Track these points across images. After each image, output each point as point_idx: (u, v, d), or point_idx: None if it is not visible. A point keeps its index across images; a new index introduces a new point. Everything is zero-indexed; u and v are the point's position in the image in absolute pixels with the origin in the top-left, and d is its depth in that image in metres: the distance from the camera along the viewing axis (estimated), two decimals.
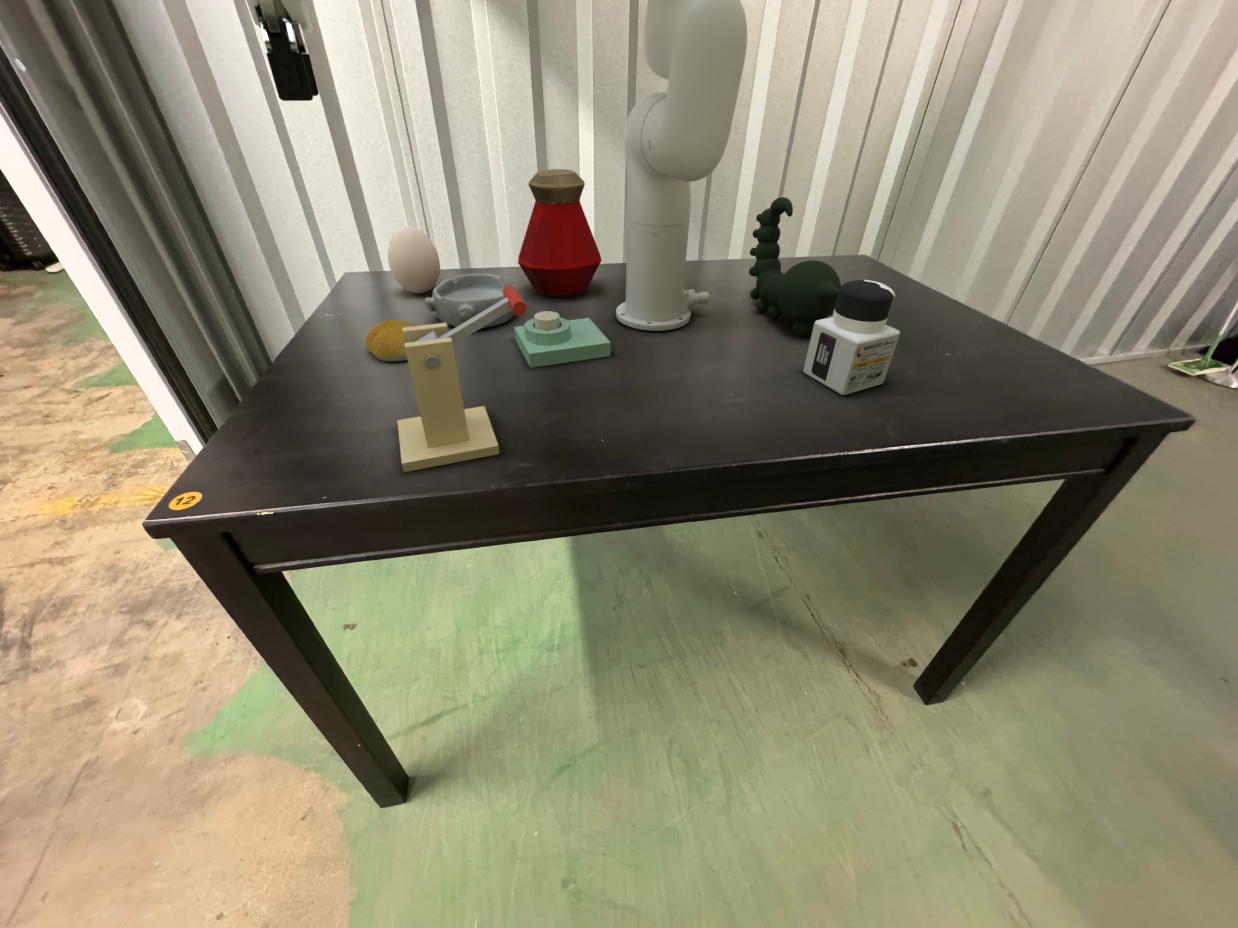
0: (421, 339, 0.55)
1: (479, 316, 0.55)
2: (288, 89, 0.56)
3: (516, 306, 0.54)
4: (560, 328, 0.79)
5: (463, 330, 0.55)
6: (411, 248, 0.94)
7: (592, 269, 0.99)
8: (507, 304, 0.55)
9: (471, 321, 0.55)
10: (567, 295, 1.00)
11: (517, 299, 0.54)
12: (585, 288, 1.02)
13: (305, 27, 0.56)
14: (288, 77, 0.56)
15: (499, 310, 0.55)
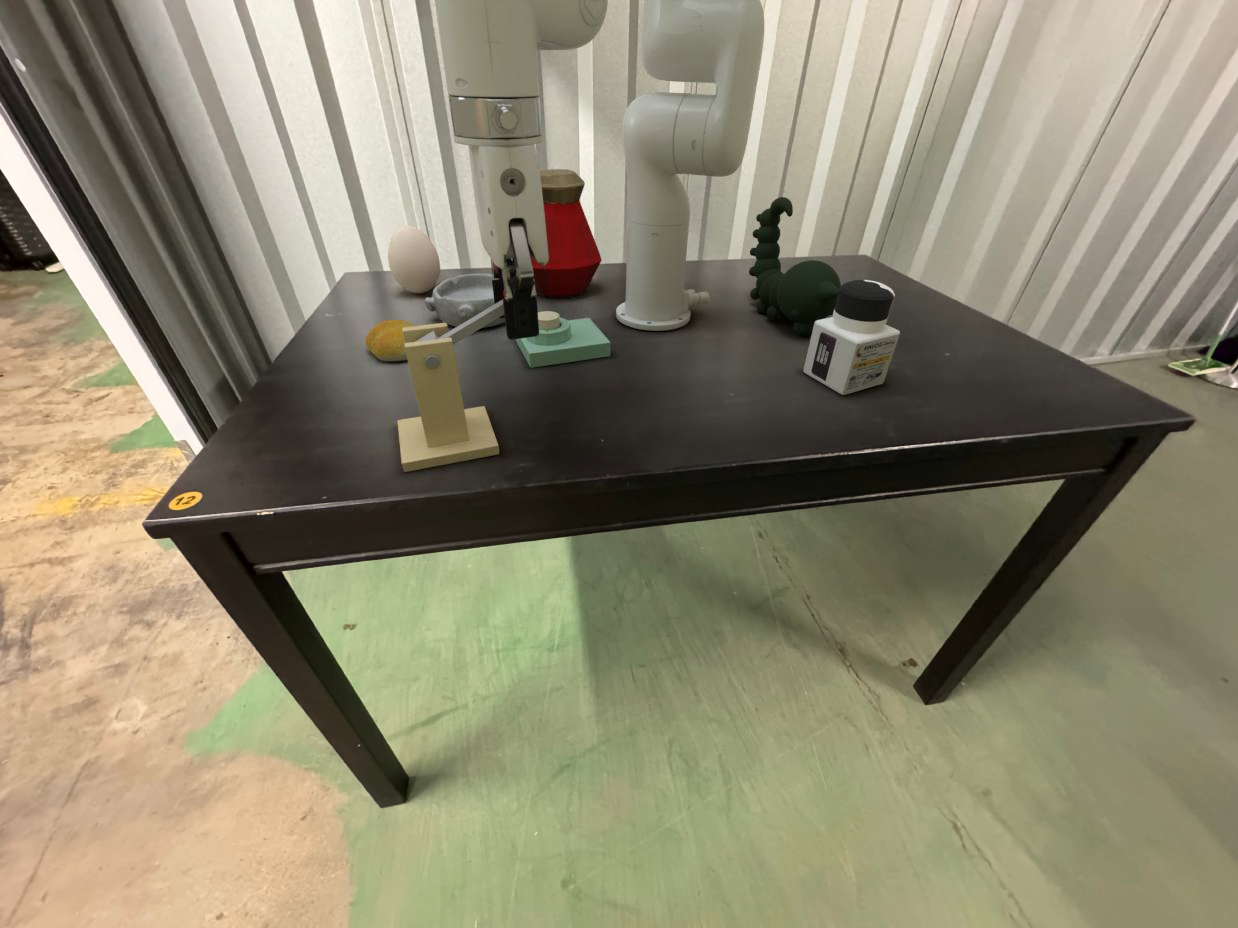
0: (421, 339, 0.55)
1: (479, 316, 0.55)
2: (520, 331, 0.54)
3: None
4: (560, 328, 0.79)
5: (463, 330, 0.55)
6: (411, 248, 0.94)
7: (592, 269, 0.99)
8: None
9: (471, 321, 0.55)
10: (567, 295, 1.00)
11: None
12: (585, 288, 1.02)
13: None
14: (522, 320, 0.53)
15: (499, 310, 0.55)
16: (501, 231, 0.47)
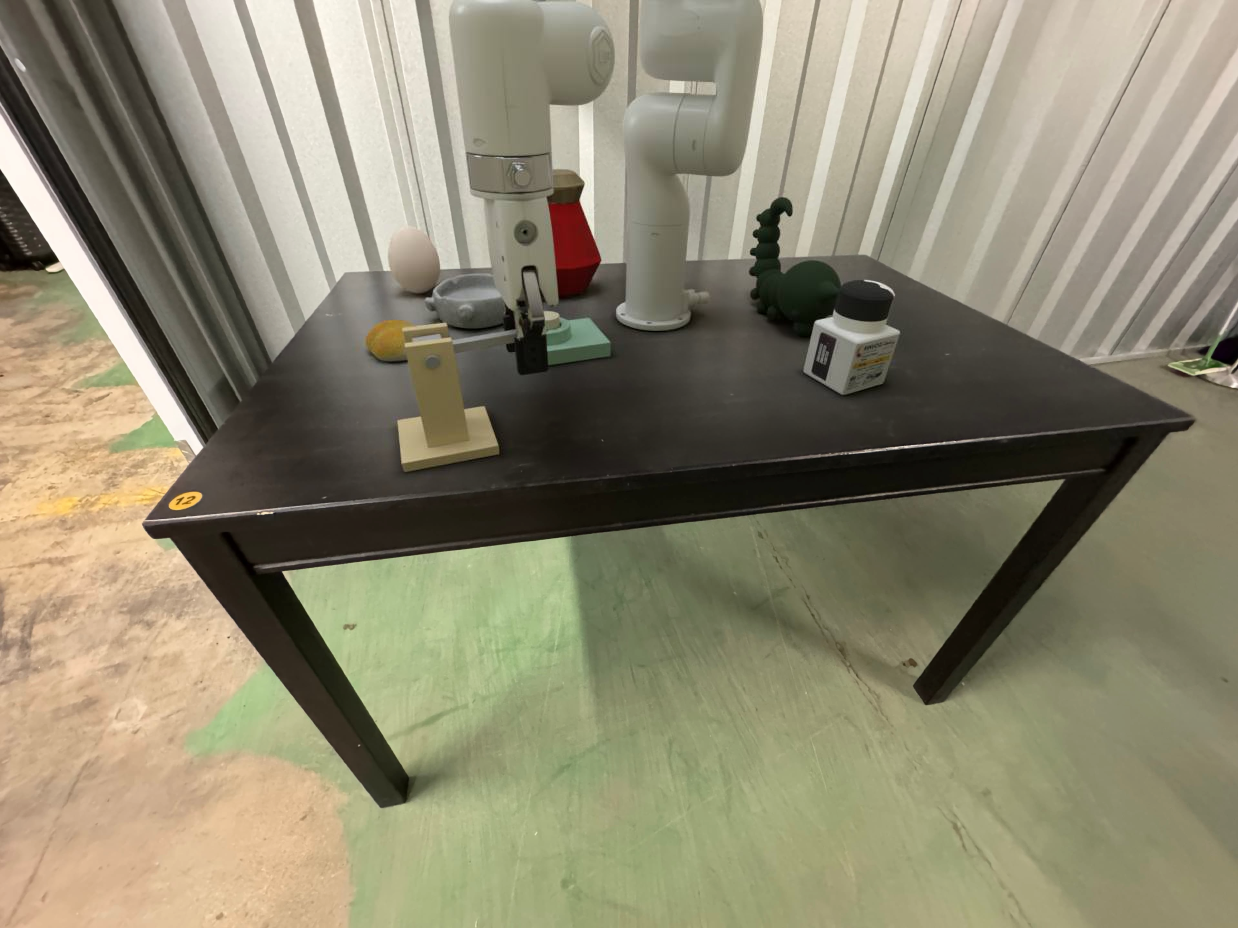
0: (425, 337, 0.55)
1: (489, 336, 0.57)
2: (530, 368, 0.56)
3: None
4: (560, 328, 0.79)
5: (470, 343, 0.56)
6: (411, 248, 0.94)
7: (592, 269, 0.99)
8: None
9: (480, 338, 0.57)
10: (567, 295, 1.00)
11: None
12: (585, 288, 1.02)
13: None
14: (532, 358, 0.56)
15: (510, 338, 0.57)
16: (514, 277, 0.50)
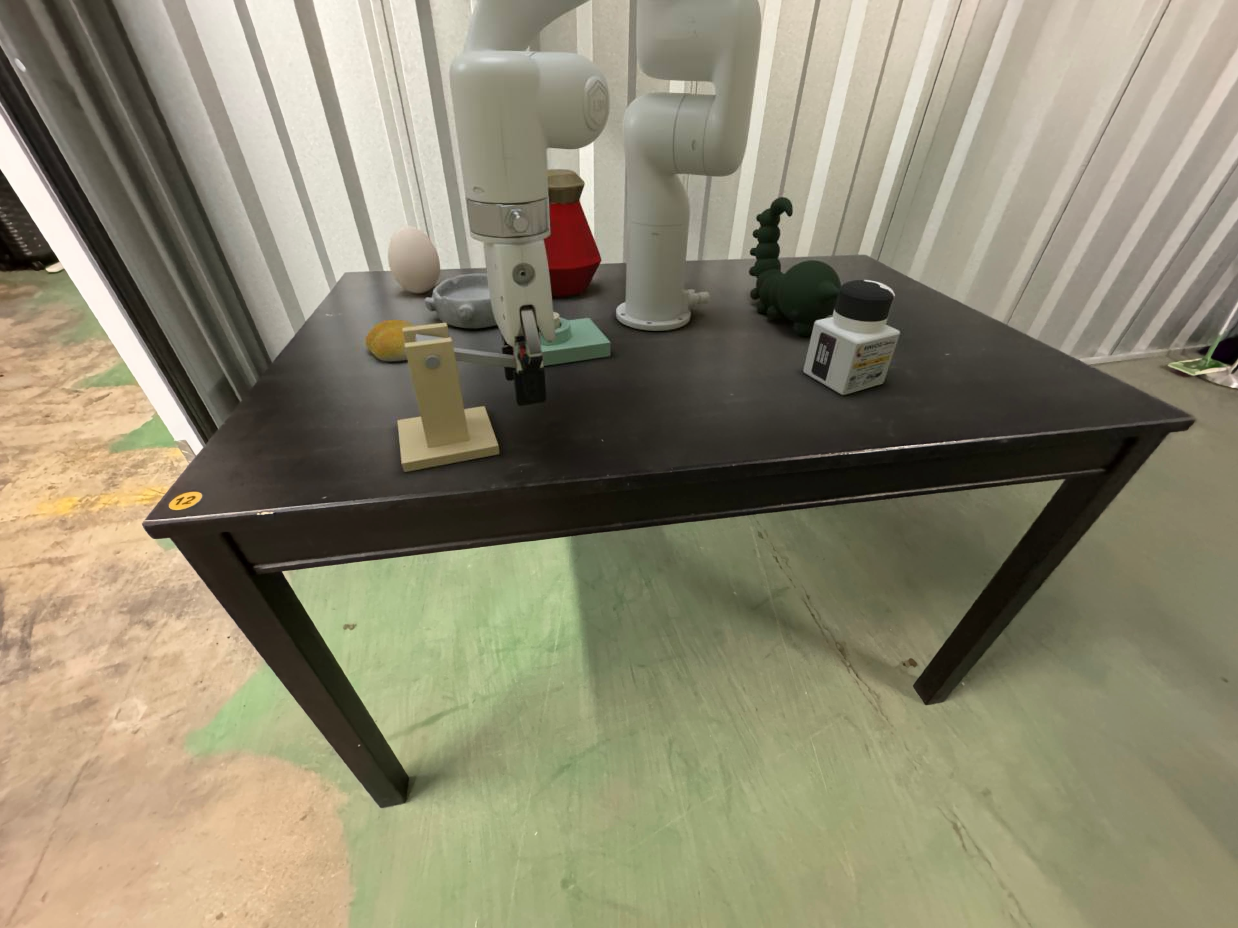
0: (430, 337, 0.55)
1: (491, 355, 0.58)
2: (529, 399, 0.58)
3: None
4: (560, 328, 0.79)
5: (471, 355, 0.57)
6: (411, 248, 0.94)
7: (592, 269, 0.99)
8: None
9: (481, 353, 0.58)
10: (567, 295, 1.00)
11: None
12: (585, 288, 1.02)
13: None
14: (530, 390, 0.58)
15: (510, 362, 0.59)
16: (513, 316, 0.52)
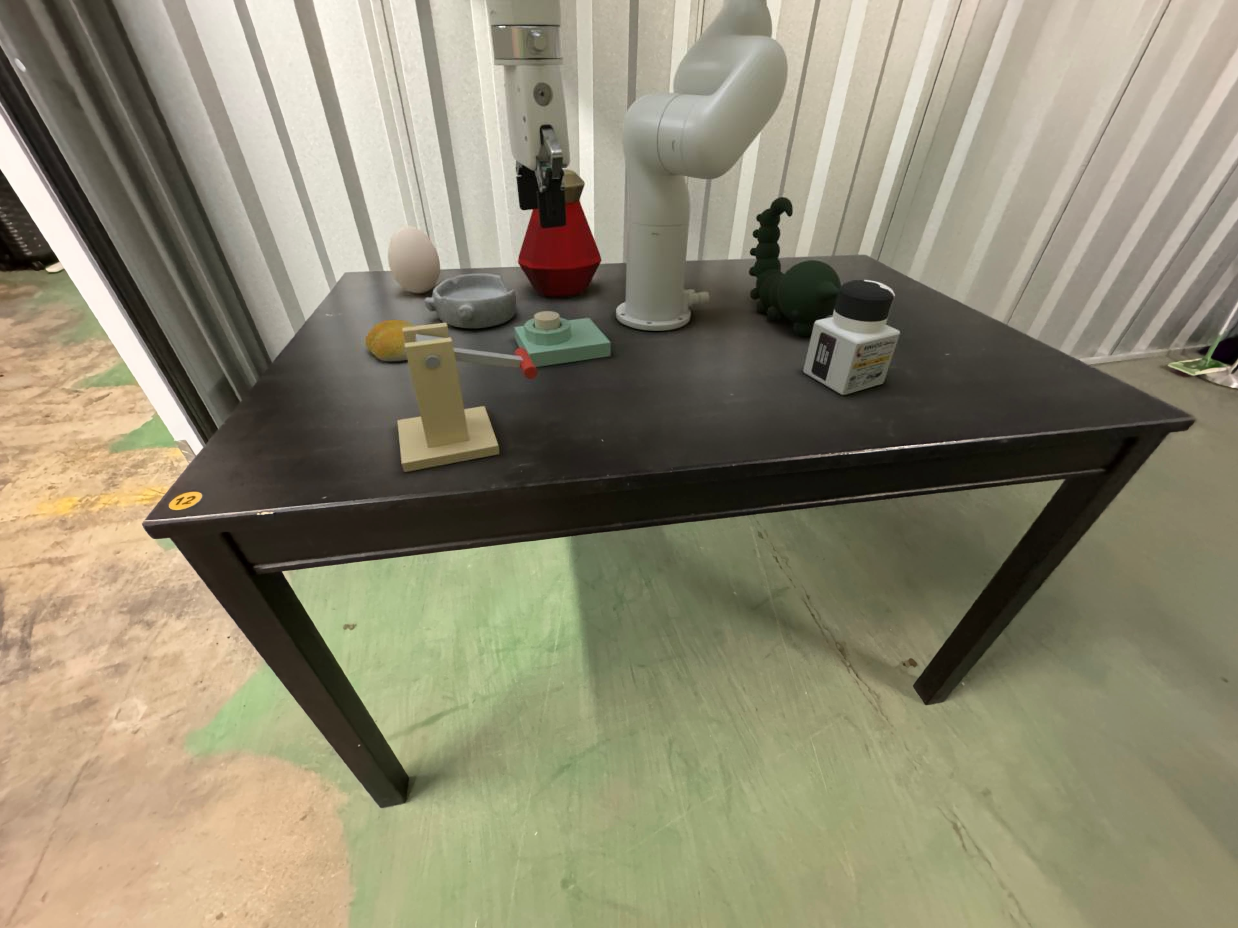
0: (430, 337, 0.55)
1: (491, 355, 0.58)
2: (551, 220, 0.65)
3: (529, 369, 0.58)
4: (560, 328, 0.79)
5: (471, 355, 0.57)
6: (411, 248, 0.94)
7: (592, 269, 0.99)
8: (519, 362, 0.59)
9: (481, 353, 0.58)
10: (567, 295, 1.00)
11: (533, 365, 0.58)
12: (585, 288, 1.02)
13: (567, 166, 0.64)
14: (553, 210, 0.64)
15: (510, 362, 0.59)
16: (534, 136, 0.60)
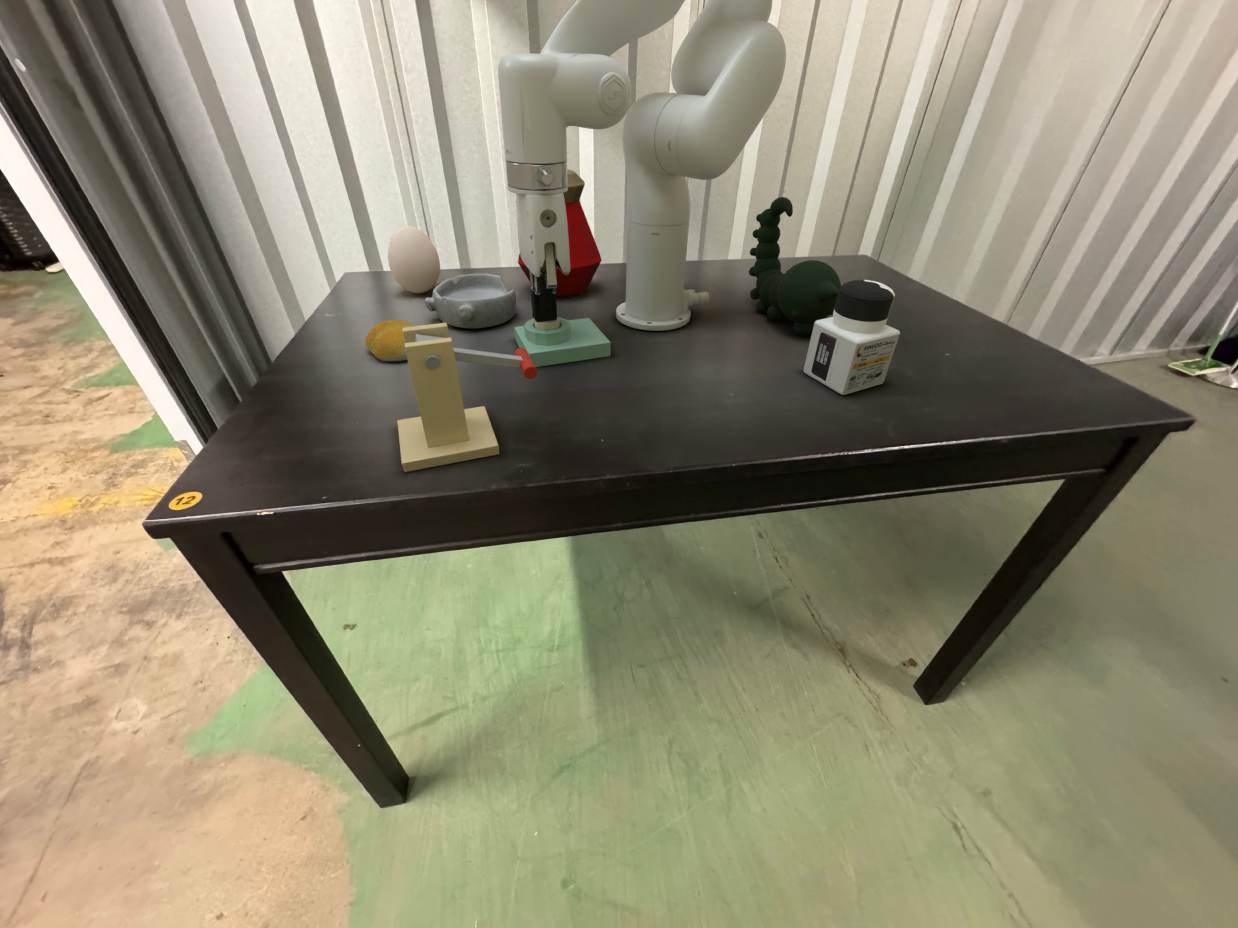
0: (430, 337, 0.55)
1: (491, 355, 0.58)
2: (544, 316, 0.77)
3: (529, 369, 0.58)
4: (560, 328, 0.79)
5: (471, 355, 0.57)
6: (411, 248, 0.94)
7: (592, 269, 0.99)
8: (519, 362, 0.59)
9: (481, 353, 0.58)
10: (567, 295, 1.00)
11: (533, 365, 0.58)
12: (585, 288, 1.02)
13: (567, 273, 0.73)
14: (545, 309, 0.77)
15: (510, 362, 0.59)
16: (539, 251, 0.69)
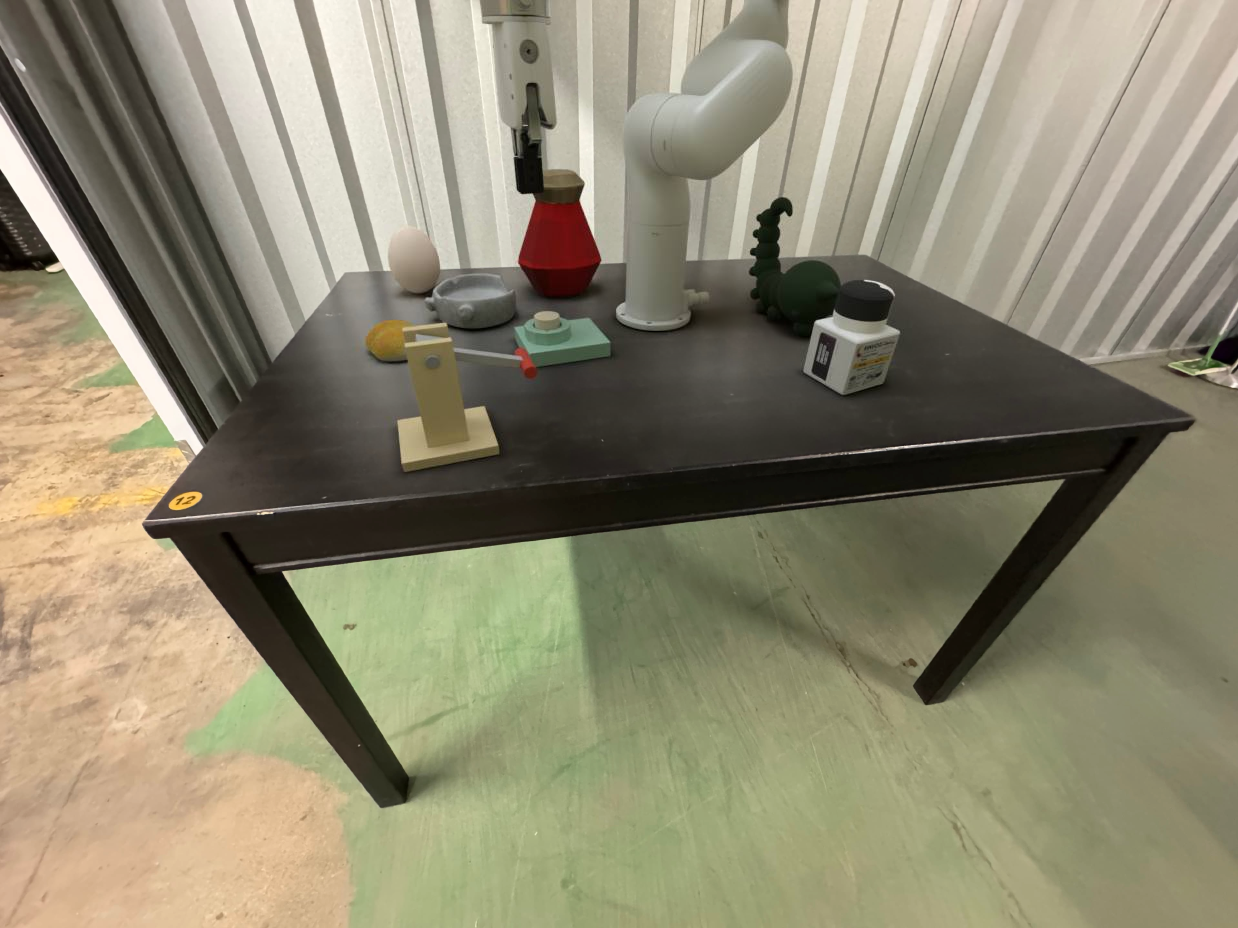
0: (430, 337, 0.55)
1: (491, 355, 0.58)
2: (529, 186, 0.69)
3: (529, 369, 0.58)
4: (560, 328, 0.79)
5: (471, 355, 0.57)
6: (411, 248, 0.94)
7: (592, 269, 0.99)
8: (519, 362, 0.59)
9: (481, 353, 0.58)
10: (567, 295, 1.00)
11: (533, 365, 0.58)
12: (585, 288, 1.02)
13: (554, 127, 0.64)
14: (530, 176, 0.68)
15: (510, 362, 0.59)
16: (520, 94, 0.60)
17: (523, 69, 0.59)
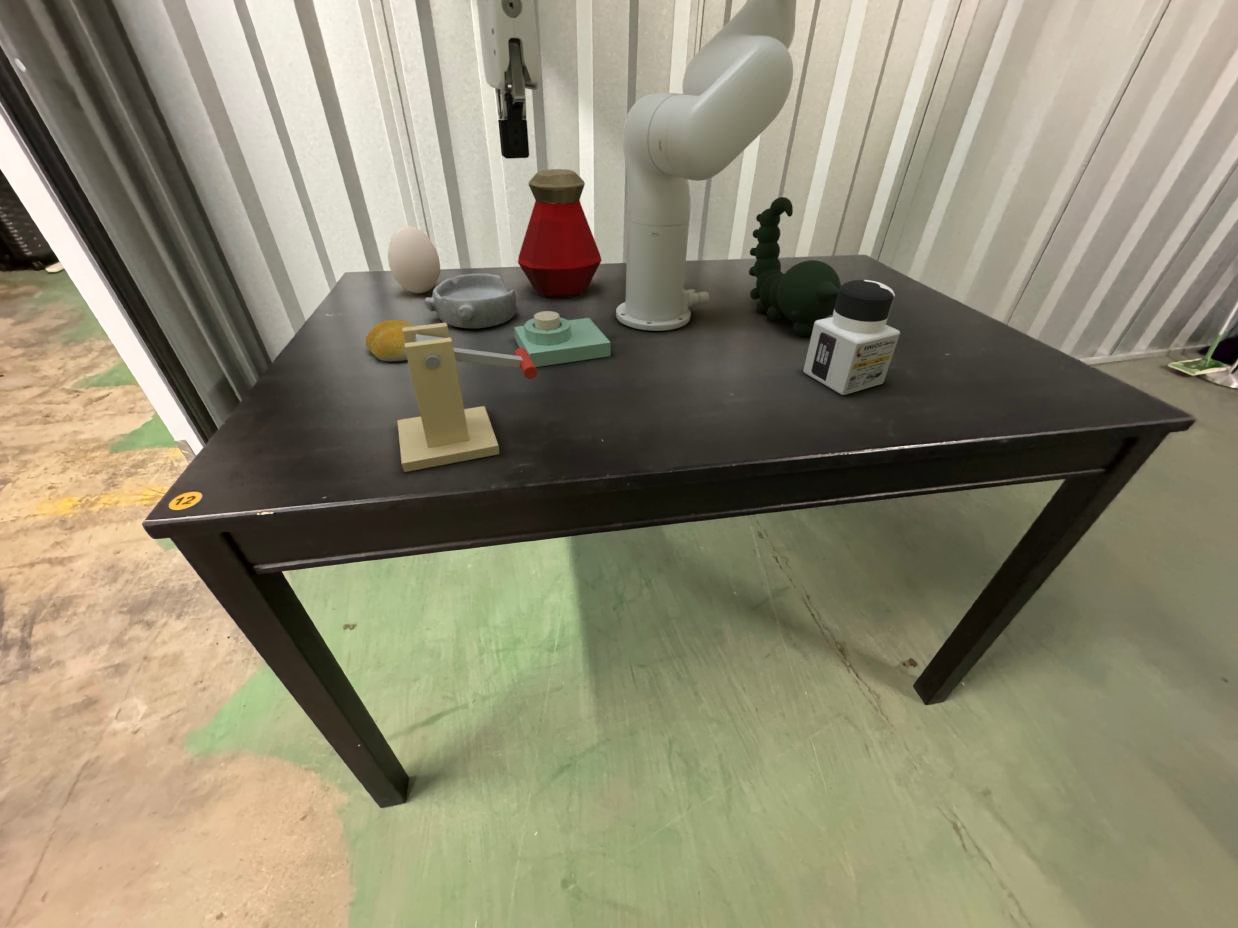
0: (430, 337, 0.55)
1: (491, 355, 0.58)
2: (513, 149, 0.67)
3: (529, 369, 0.58)
4: (560, 328, 0.79)
5: (471, 355, 0.57)
6: (411, 248, 0.94)
7: (592, 269, 0.99)
8: (519, 362, 0.59)
9: (481, 353, 0.58)
10: (567, 295, 1.00)
11: (533, 365, 0.58)
12: (585, 288, 1.02)
13: (538, 87, 0.62)
14: (515, 140, 0.67)
15: (510, 362, 0.59)
16: (502, 49, 0.59)
17: (505, 23, 0.57)
